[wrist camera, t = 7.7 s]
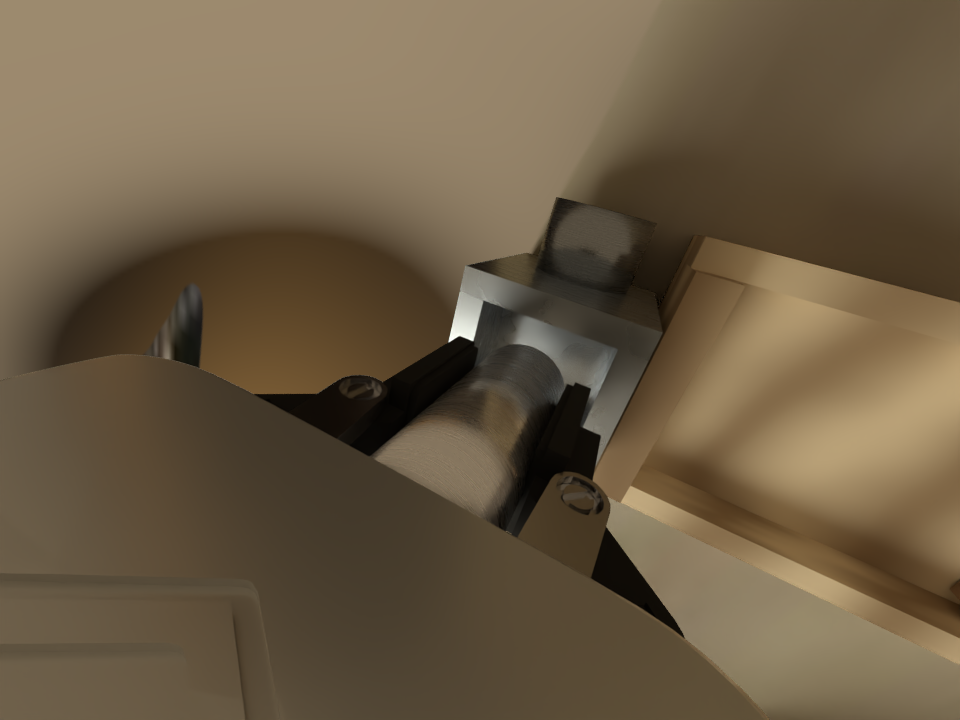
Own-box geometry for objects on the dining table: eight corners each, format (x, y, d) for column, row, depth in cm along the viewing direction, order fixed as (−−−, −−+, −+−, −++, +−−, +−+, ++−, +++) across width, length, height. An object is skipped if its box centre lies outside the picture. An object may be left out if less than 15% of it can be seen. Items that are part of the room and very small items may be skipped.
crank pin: (577, 364, 12) (490, 556, 5) (547, 439, 13) (446, 670, 6) (491, 331, 13) (313, 456, 6) (471, 404, 14) (308, 575, 7)
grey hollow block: (683, 231, 17) (712, 234, 10) (601, 405, 21) (582, 492, 14) (543, 195, 19) (485, 175, 12) (495, 361, 23) (431, 419, 16)
